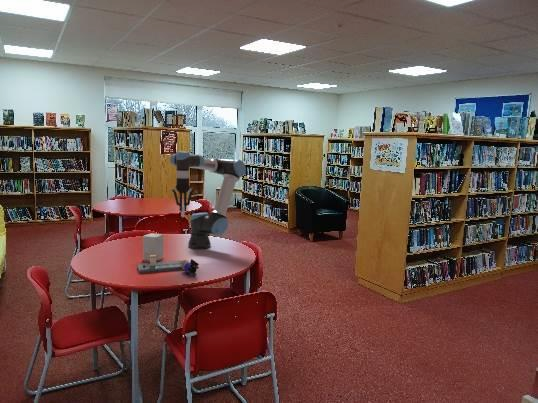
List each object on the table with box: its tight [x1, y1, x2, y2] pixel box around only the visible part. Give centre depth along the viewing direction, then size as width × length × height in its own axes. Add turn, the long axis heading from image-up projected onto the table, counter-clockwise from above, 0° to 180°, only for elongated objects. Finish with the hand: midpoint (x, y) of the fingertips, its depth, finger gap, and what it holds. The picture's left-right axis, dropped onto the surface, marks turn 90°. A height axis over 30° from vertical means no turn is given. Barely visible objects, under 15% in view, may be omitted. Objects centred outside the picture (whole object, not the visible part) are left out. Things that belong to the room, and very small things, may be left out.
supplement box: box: [142, 232, 164, 262], centre depth 248 cm, size 9×9×15 cm
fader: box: [149, 255, 157, 266], centre depth 229 cm, size 3×3×6 cm
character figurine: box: [180, 258, 200, 277], centre depth 223 cm, size 8×7×15 cm
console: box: [137, 259, 189, 275], centre depth 232 cm, size 28×12×3 cm, turn 111°
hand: (182, 216), depth 247 cm, fingers closed
